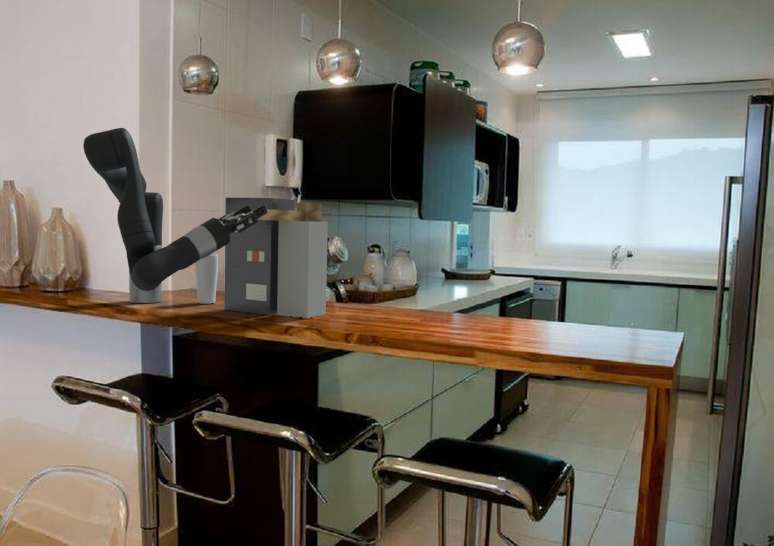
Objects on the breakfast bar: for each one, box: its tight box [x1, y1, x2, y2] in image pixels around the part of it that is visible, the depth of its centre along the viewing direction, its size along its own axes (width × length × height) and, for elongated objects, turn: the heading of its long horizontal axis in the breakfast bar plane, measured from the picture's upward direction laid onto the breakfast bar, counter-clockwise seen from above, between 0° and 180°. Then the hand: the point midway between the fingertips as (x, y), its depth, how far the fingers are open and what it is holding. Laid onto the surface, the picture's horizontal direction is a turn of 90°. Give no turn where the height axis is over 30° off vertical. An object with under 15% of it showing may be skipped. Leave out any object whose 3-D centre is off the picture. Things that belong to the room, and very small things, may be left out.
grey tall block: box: [276, 220, 329, 319], centre depth 179 cm, size 10×9×26 cm
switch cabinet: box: [223, 197, 295, 316], centre depth 184 cm, size 16×11×32 cm
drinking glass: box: [194, 253, 219, 305], centre depth 198 cm, size 7×7×15 cm
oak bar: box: [253, 202, 323, 222], centre depth 174 cm, size 19×5×5 cm, turn 129°
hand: (257, 208), depth 169 cm, fingers open, 8 cm apart
